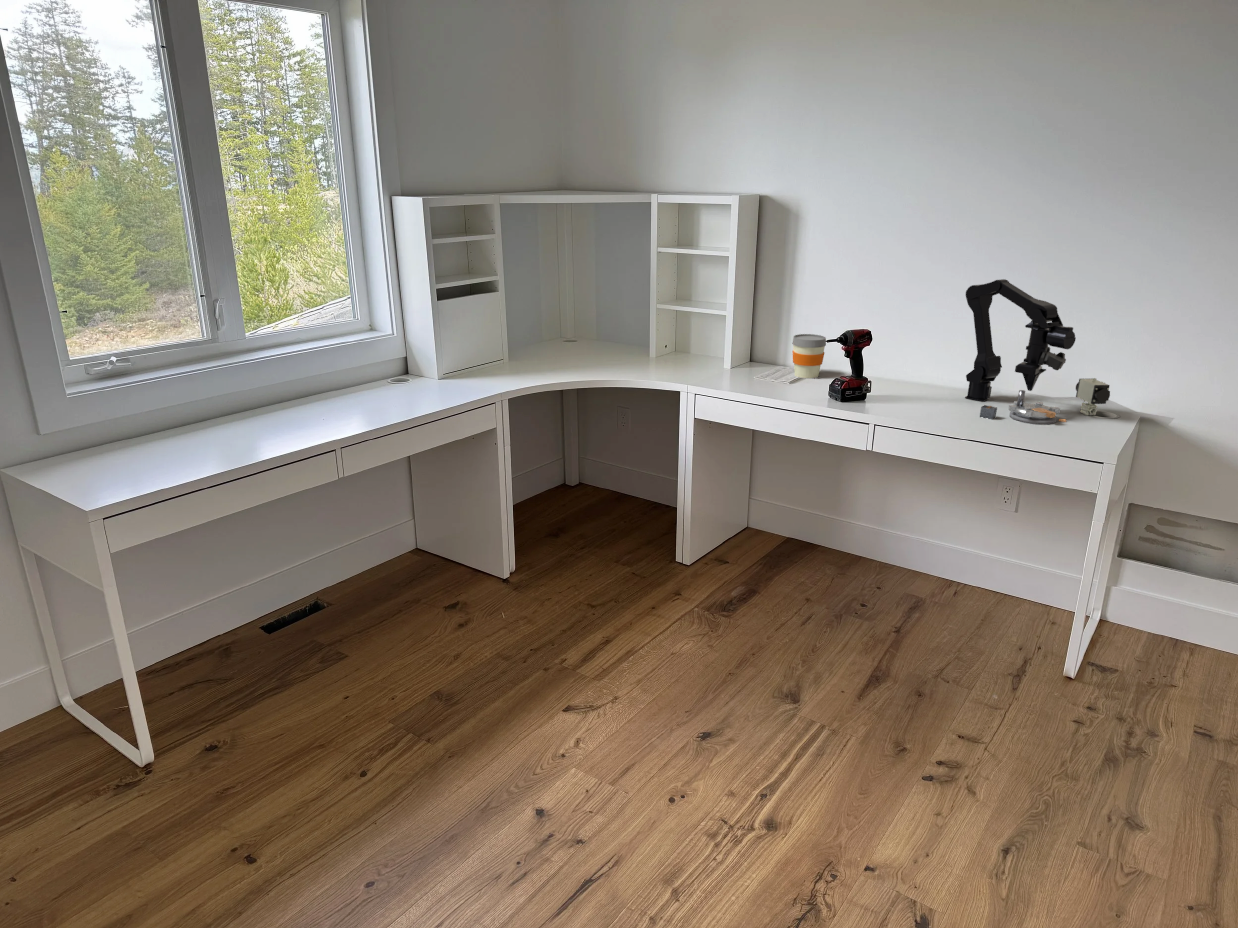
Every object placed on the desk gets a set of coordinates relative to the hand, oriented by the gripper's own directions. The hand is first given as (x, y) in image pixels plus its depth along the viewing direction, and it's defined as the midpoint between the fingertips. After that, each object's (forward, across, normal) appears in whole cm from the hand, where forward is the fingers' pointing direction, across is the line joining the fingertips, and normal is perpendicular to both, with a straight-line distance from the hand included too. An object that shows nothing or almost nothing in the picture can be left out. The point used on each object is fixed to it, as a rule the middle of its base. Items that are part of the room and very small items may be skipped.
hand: (1029, 390), depth 271 cm
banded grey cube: (+8, -15, +7) cm, 18 cm away
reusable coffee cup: (+8, -6, +79) cm, 80 cm away
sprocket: (+6, -6, -4) cm, 9 cm away
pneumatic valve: (+8, +12, -16) cm, 21 cm away
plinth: (+7, -6, -5) cm, 11 cm away
